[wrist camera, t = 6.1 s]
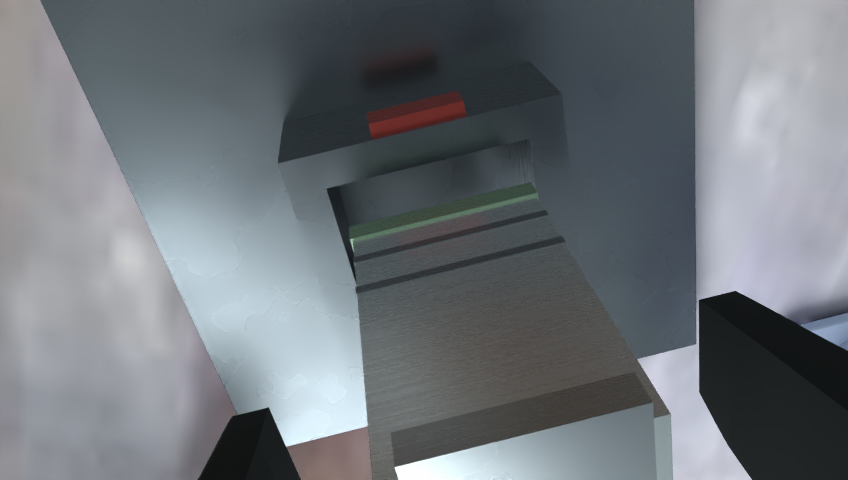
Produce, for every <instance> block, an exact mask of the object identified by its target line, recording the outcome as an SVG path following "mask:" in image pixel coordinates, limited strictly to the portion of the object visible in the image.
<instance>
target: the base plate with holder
mask: <svg viewBox="0 0 848 480" xmlns="http://www.w3.org/2000/svg"><path fill="white" fill-rule="evenodd" d="M41 2H42V5H43V7H44V9H45V11H46V13H47V15H48V17H49V19H50V21H51V24H52V26H53V28H54V30H55V32H56V34H57V36H58V38H59V40H60V42H61V45H62V47H63V49H64V51H65V53H66V55H67V57H68V59H69V61H70V63H71V66H72V68H73V70H74V72H75V74H76V76H77V78H78V80H79V82H80V84H81V87H82V89H83V91H84V93H85V95H86V97H87V99H88V101H89V103H90V106H91V108H92V110H93V112H94V114H95V116H96V118H97V120H98V122H99V124H100V127H101V129H102V131H103V133H104V135H105V137H106V139H107V141H108V143H109V145H110V148H111V150H112V152H113V154H114V156H115V158H116V160H117V162H118V164H119V166H120V169H121V171H122V173H123V175H124V177H125V179H126V181H127V183H128V185H129V188H130V190H131V192H132V194H133V196H134V198H135V200H136V202H137V204H138V206H139V209H140V211H141V213H142V215H143V217H144V219H145V221H146V223H147V225H148V227H149V230H150V232H151V234H152V236H153V238H154V240H155V242H156V244H157V246H158V248H159V251H160V253H161V255H162V257H163V259H164V261H165V263H166V265H167V267H168V270H169V272H170V274H171V276H172V278H173V280H174V282H175V284H176V286H177V288H178V291H179V293H180V295H181V297H182V299H183V301H184V303H185V305H186V307H187V309H188V312H189V314H190V316H191V318H192V320H193V322H194V324H195V326H196V328H197V330H198V333H199V335H200V337H201V339H202V341H203V343H204V345H205V347H206V349H207V351H208V354H209V356H210V358H211V360H212V362H213V364H214V366H215V368H216V370H217V373H218V375H219V377H220V379H221V381H222V383H223V385H224V387H225V389H226V391H227V394H228V396H229V398H230V400H231V402H232V404H233V406H234V408H235V410H236V412H237V415H240V414H244V413H248V412H252V411H256V410H260V409H264V408H268V407H269V409H270V411H271V413H272V416H273V418H274V420H275V423H276V425H277V427H278V429H279V432H280V434H281V436H282V438H283V441H284V443H285V445H286V446H290V445H294V444H298V443H302V442H306V441H310V440H314V439H318V438H322V437H326V436H330V435H334V434H338V433H342V432H346V431H350V430H354V429H358V428H362V427H366V426H368V422H367V410H366V398H365V385H364V373H363V360H362V348H361V335H360V323H359V311H358V299H357V296H356V291H355V287H357V286H356V273H355V267H354V263H353V257H354V252H353V248H352V245H351V242H350V237H349V227H350V226H354V225H358V224H362V223H366V222H370V221H374V220H379V219H383V218H387V217H391V216H395V215H399V214H403V213H407V212H411V211H415V210H419V209H423V208H427V207H431V206H435V205H439V204H443V203H447V202H451V201H455V200H459V199H463V198H468V197H472V196H476V195H480V194H484V193H488V192H492V191H496V190H500V189H504V188H508V187H512V186H516V185H520V184H524V183H528V182H531V183H532V185H533V186H534V188H535V189H536V191H537V193H538V200H539V202H540V204H541V206H542V207H543V209H544V210H546V211H547V213H548V214H549V218H550V220H551V222H552V223H553V225H554V227H555V228H556V230H557V231H558V233H559V235H560V236H562V237H563V238H564V240H565V241H566V246H567V247H568V249H569V251H570V252H571V254H572V256H573V257H574V259H575V260H576V262H577V264H578V265H579V267H580V268H581V270H582V272H583V273H584V275H585V277H586V278H587V280H588V281H589V283H590V285H591V286H592V288H593V289H594V291H595V293H596V294H597V296H598V298H599V299H600V301H601V302H602V304H603V306H604V307H605V309H606V310H607V312H608V314H609V315H610V317H611V318H612V320H613V322H614V323H615V325H616V327H617V328H618V330H619V331H620V333H621V335H622V336H623V338H624V339H625V341H626V343H627V344H628V346H629V348H630V349H631V351H632V352H633V354H634V356H635V357H636V359H639V358H643V357H647V356H651V355H655V354H659V353H663V352H667V351H671V350H675V349H679V348H683V347H687V346H691V345H695V344H696V230H695V90H694V0H41Z"/></svg>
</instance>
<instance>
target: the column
mask: <svg viewBox="0 0 848 480" xmlns="http://www.w3.org/2000/svg"><path fill="white" fill-rule="evenodd" d="M349 237H350V242H351V245H352V248H353V252H354V257H353V263H354V267H355V273H356V286H357V287H355V291H356V296H357V299H358V311H359V323H360V335H361V348H362V360H363V373H364V385H365V398H366V410H367V422H368V435H369V447H370V460H371V472H372V480H673V464H672V435H671V414H670V412H669V410H668V409H667V407H666V406H665V404H664V402H663V401H662V399H661V398H660V396H659V394H658V393H657V391H656V389H655V388H654V386H653V385H652V383H651V381H650V380H649V378H648V377H647V375H646V373H645V372H644V370H643V368H642V367H641V365H640V364H639V362H638V360H637V359H636V357H635V356H634V354H633V352H632V351H631V349H630V348H629V346H628V344H627V343H626V341H625V339H624V338H623V336H622V335H621V333H620V331H619V330H618V328H617V327H616V325H615V323H614V322H613V320H612V318H611V317H610V315H609V314H608V312H607V310H606V309H605V307H604V306H603V304H602V302H601V301H600V299H599V298H598V296H597V294H596V293H595V291H594V289H593V288H592V286H591V285H590V283H589V281H588V280H587V278H586V277H585V275H584V273H583V272H582V270H581V268H580V267H579V265H578V264H577V262H576V260H575V259H574V257H573V256H572V254H571V252H570V251H569V249H568V247H567V246H566V241H565V240H564V238H563V237H562V236H560V235H559V233H558V231H557V230H556V228H555V227H554V225H553V223H552V222H551V220H550V218H549V214H548V213H547V211H546V210H544V209H543V207H542V206H541V204H540V202H539V200H538V193H537V191H536V189H535V188H534V186H533V185H532V183H531V182H528V183H524V184H520V185H516V186H512V187H508V188H504V189H500V190H496V191H492V192H488V193H484V194H480V195H476V196H472V197H468V198H463V199H459V200H455V201H451V202H447V203H443V204H439V205H435V206H431V207H427V208H423V209H419V210H415V211H411V212H407V213H403V214H399V215H395V216H391V217H387V218H383V219H379V220H374V221H370V222H366V223H362V224H358V225H354V226H350V227H349Z"/></svg>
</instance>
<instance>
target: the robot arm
mask: <svg viewBox="0 0 848 480" xmlns="http://www.w3.org/2000/svg"><path fill="white" fill-rule="evenodd" d="M699 392H700V394H701V396H702V398H703V400H704V402H705V404H706V406H707V408H708V409H709V411H710V413H711V415H712V417H713V419H714V421H715V423H716V424H717V426H718V428H719V430H720V432H721V433H722V435H723V437H724V439H725V441H726V442H727V444H728V446H729V447H730V449H731V450H732V452H733V453H734V455H735V456H736V458H737V459H738V460H739V462H740V463H741V465H742V466H743V467H744V469H745V470H746V472H747V473H748V474H749V476H750V477H751V479H752V480H848V313H845V314H841V315H837V316H833V317H829V318H825V319H821V320H817V321H813V322H809V323H805V324H801V325H798V324H796V323H795V322H793V321H791V320H789V319H787V318H785V317H783V316H782V315H780V314H778V313H776V312H774V311H772V310H771V309H769V308H767V307H765V306H763V305H761V304H760V303H758V302H756V301H754V300H752V299H750V298H748V297H746V296H744V295H742V294H740V293H738V292H736V291H733V292H729V293H725V294H721V295H717V296H713V297H709V298H705V299H701V300H699ZM198 480H301V479H300V477H299V475H298V472H297V470H296V468H295V466H294V463H293V461H292V459H291V457H290V454H289V452H288V450H287V448H286V445H285V443H284V441H283V438H282V436H281V434H280V432H279V429H278V427H277V425H276V423H275V420H274V418H273V416H272V413H271V411H270V409H269V407H268V408H264V409H260V410H256V411H252V412H248V413H244V414H240V415H236V416H232V418H231V419H230V421H229V422H228V424H227V426H226V428H225V430H224V431H223V433H222V435H221V437H220V439H219V441H218V443H217V445H216V447H215V448H214V450H213V452H212V454H211V456H210V458H209V460H208V462H207V464H206V465H205V467H204V469H203V471H202V473H201V475H200V477H199V478H198Z"/></svg>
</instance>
